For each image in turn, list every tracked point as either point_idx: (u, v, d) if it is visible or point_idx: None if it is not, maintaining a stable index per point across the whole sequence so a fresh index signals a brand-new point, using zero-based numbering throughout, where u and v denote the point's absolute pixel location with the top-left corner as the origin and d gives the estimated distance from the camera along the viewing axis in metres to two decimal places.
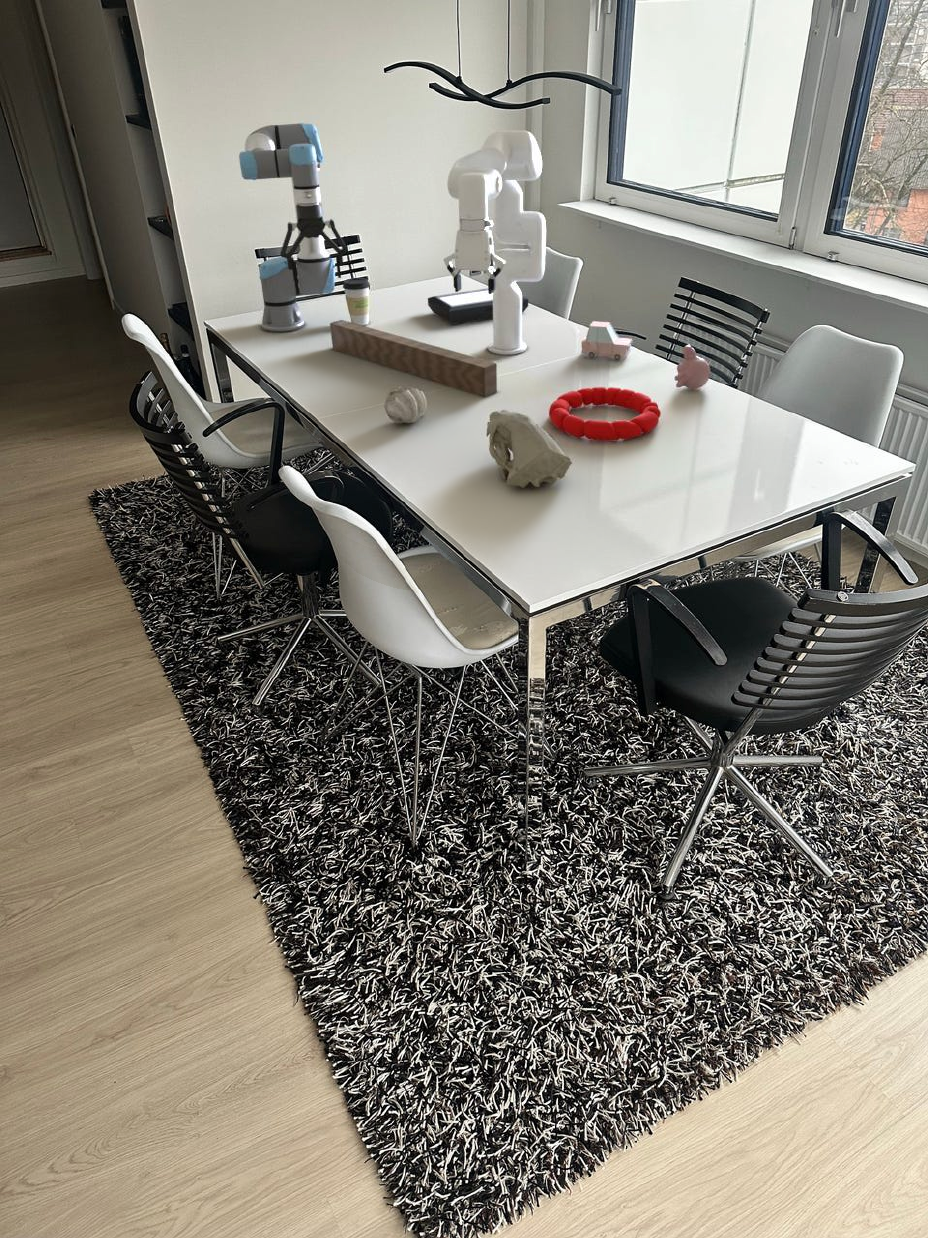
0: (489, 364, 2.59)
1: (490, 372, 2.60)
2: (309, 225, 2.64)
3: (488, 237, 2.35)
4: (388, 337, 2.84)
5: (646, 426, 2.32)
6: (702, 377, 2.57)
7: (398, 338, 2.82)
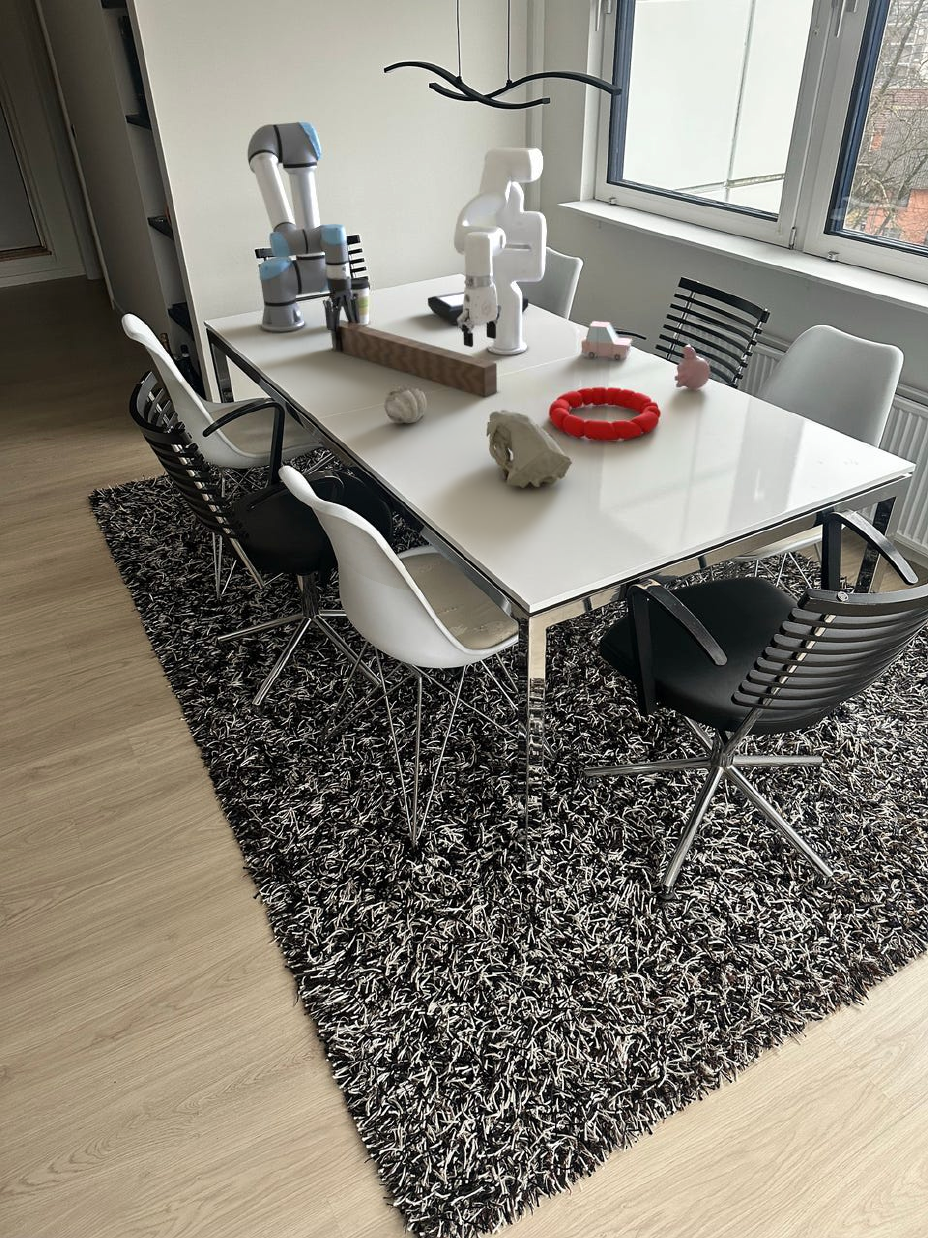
0: (489, 364, 2.59)
1: (490, 372, 2.60)
2: (340, 292, 2.91)
3: (465, 293, 2.48)
4: (388, 337, 2.84)
5: (646, 426, 2.32)
6: (702, 377, 2.57)
7: (398, 338, 2.82)
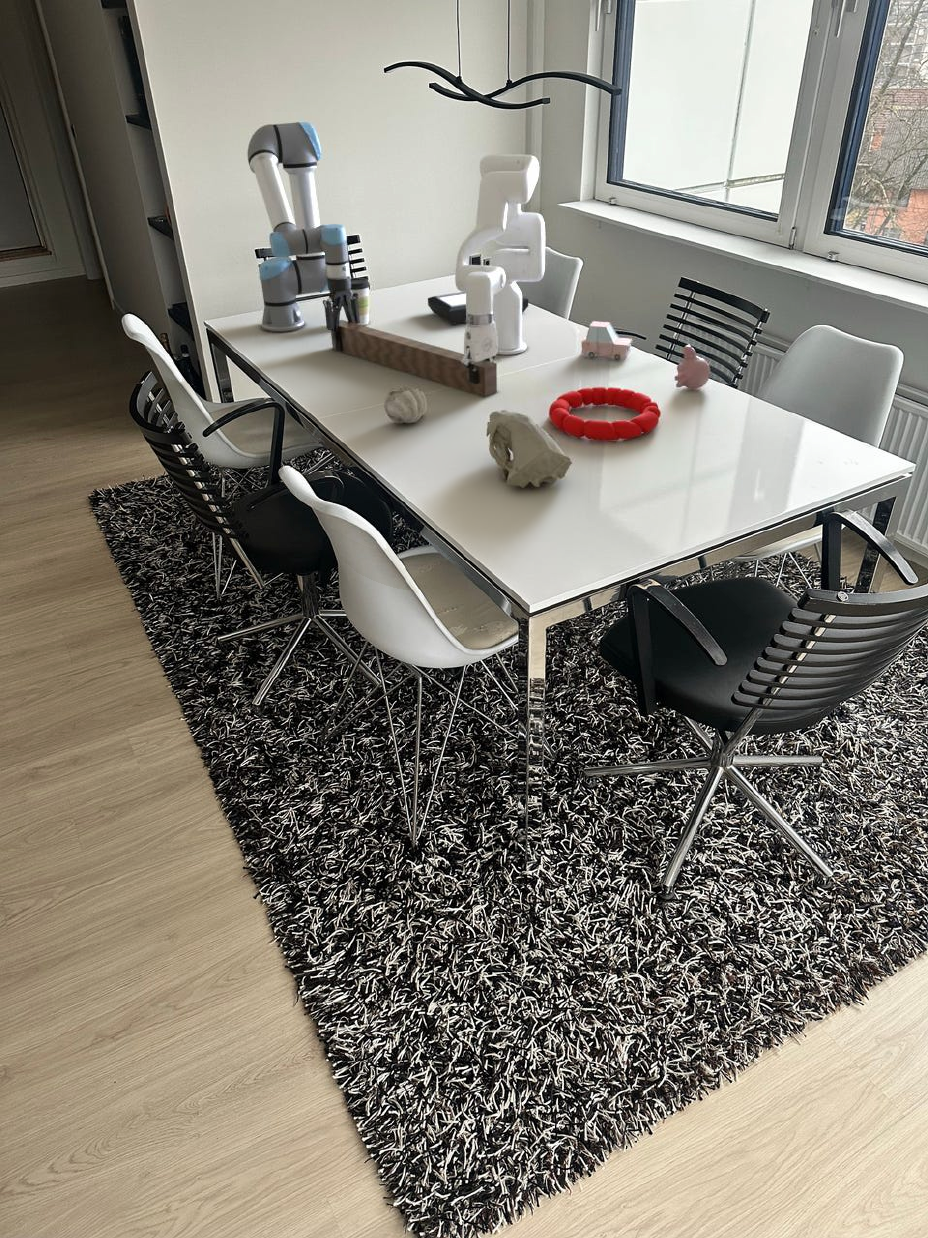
0: (489, 364, 2.59)
1: (490, 372, 2.60)
2: (340, 292, 2.91)
3: (466, 330, 2.53)
4: (388, 337, 2.84)
5: (646, 426, 2.32)
6: (702, 377, 2.57)
7: (398, 338, 2.82)
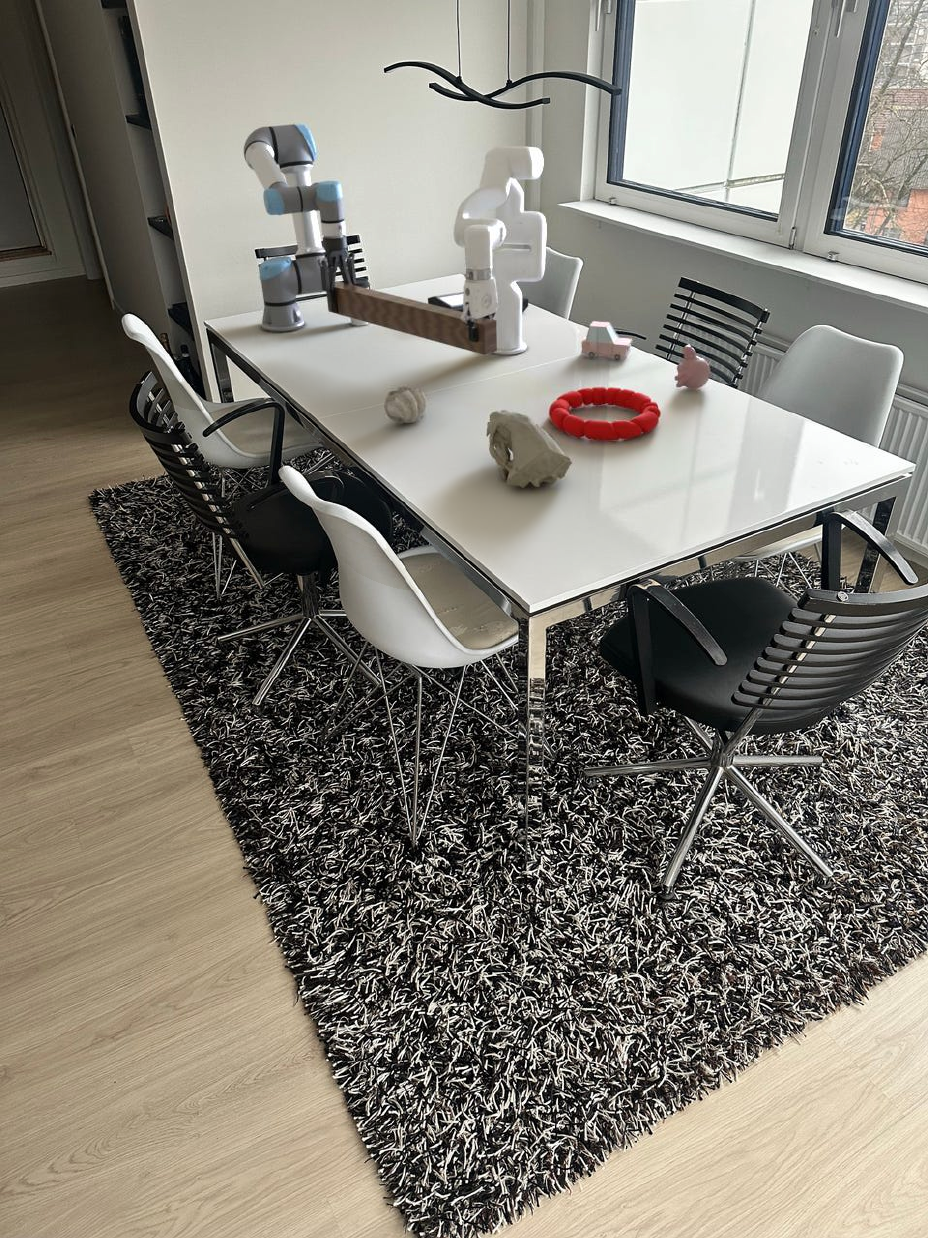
0: (489, 321, 2.53)
1: (490, 330, 2.53)
2: (336, 252, 2.84)
3: (465, 286, 2.47)
4: (385, 297, 2.77)
5: (646, 426, 2.32)
6: (702, 377, 2.57)
7: (395, 298, 2.75)
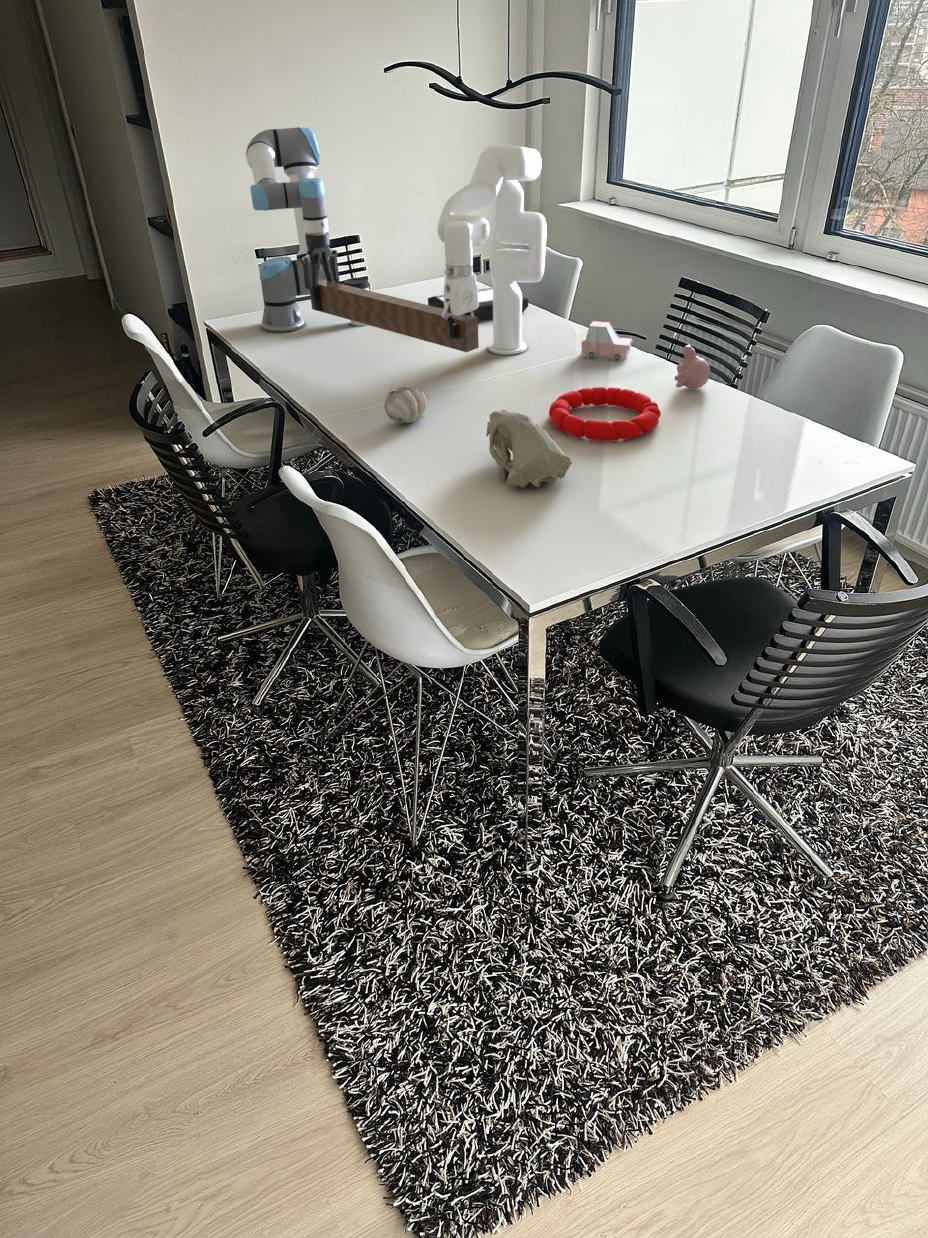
0: (470, 318, 2.51)
1: (471, 327, 2.52)
2: (319, 249, 2.83)
3: (445, 283, 2.46)
4: (367, 294, 2.76)
5: (646, 426, 2.32)
6: (702, 377, 2.57)
7: (377, 295, 2.74)
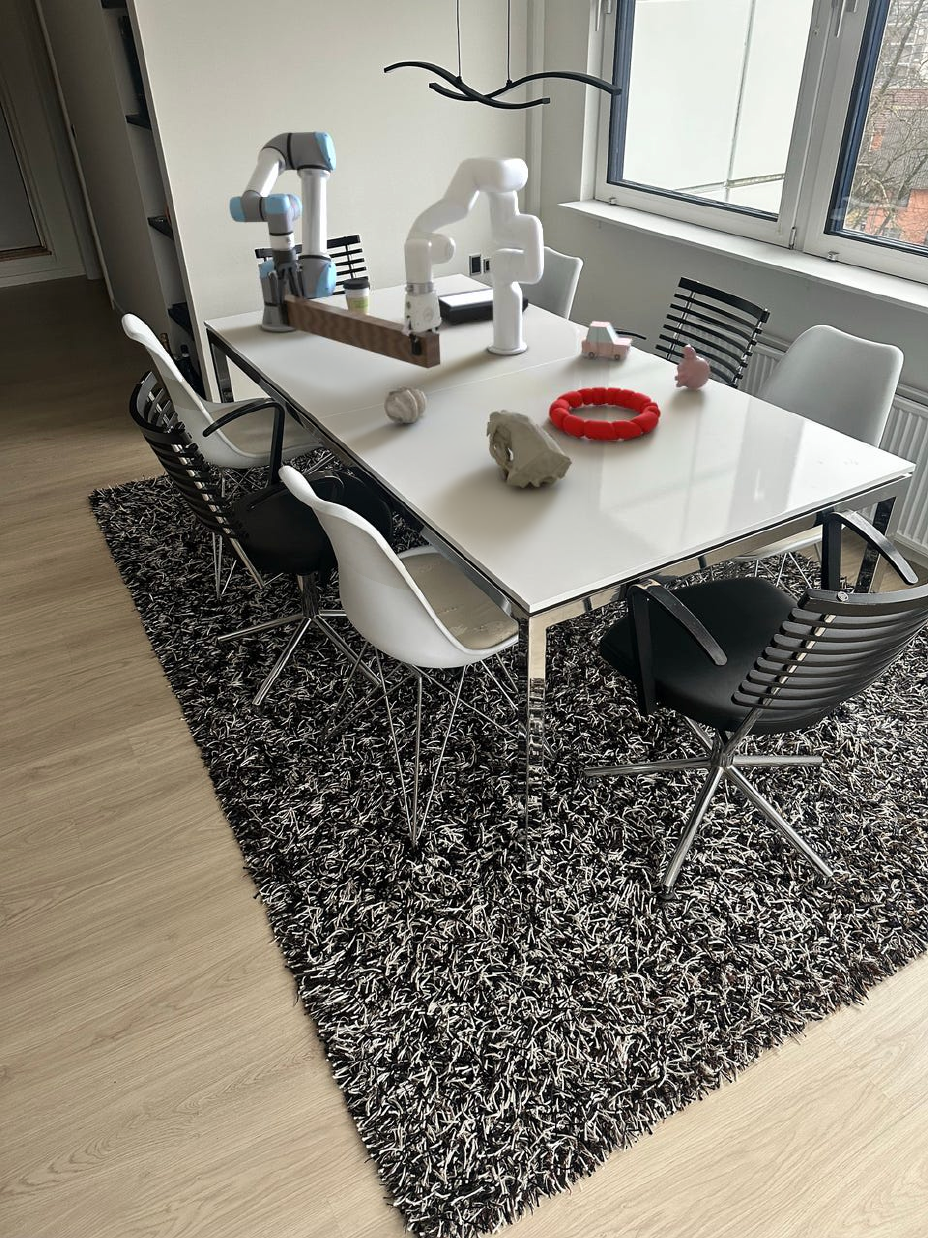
0: (431, 335, 2.52)
1: (433, 343, 2.53)
2: (285, 264, 2.84)
3: (406, 300, 2.47)
4: (333, 310, 2.77)
5: (646, 426, 2.32)
6: (702, 377, 2.57)
7: (342, 311, 2.75)
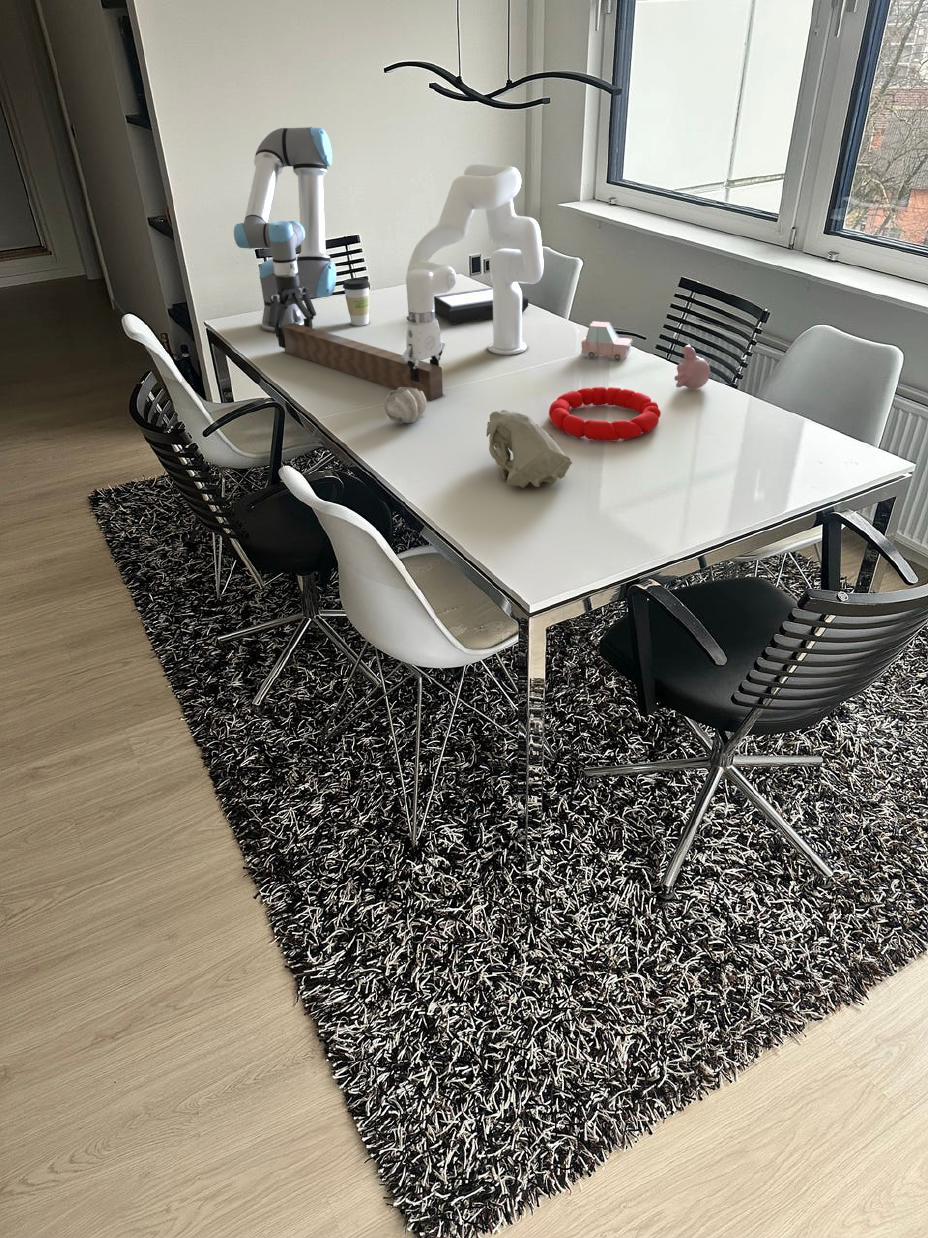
0: (434, 368, 2.58)
1: (435, 376, 2.59)
2: (289, 292, 2.89)
3: (408, 328, 2.51)
4: (337, 340, 2.82)
5: (646, 426, 2.32)
6: (702, 377, 2.57)
7: (347, 342, 2.81)
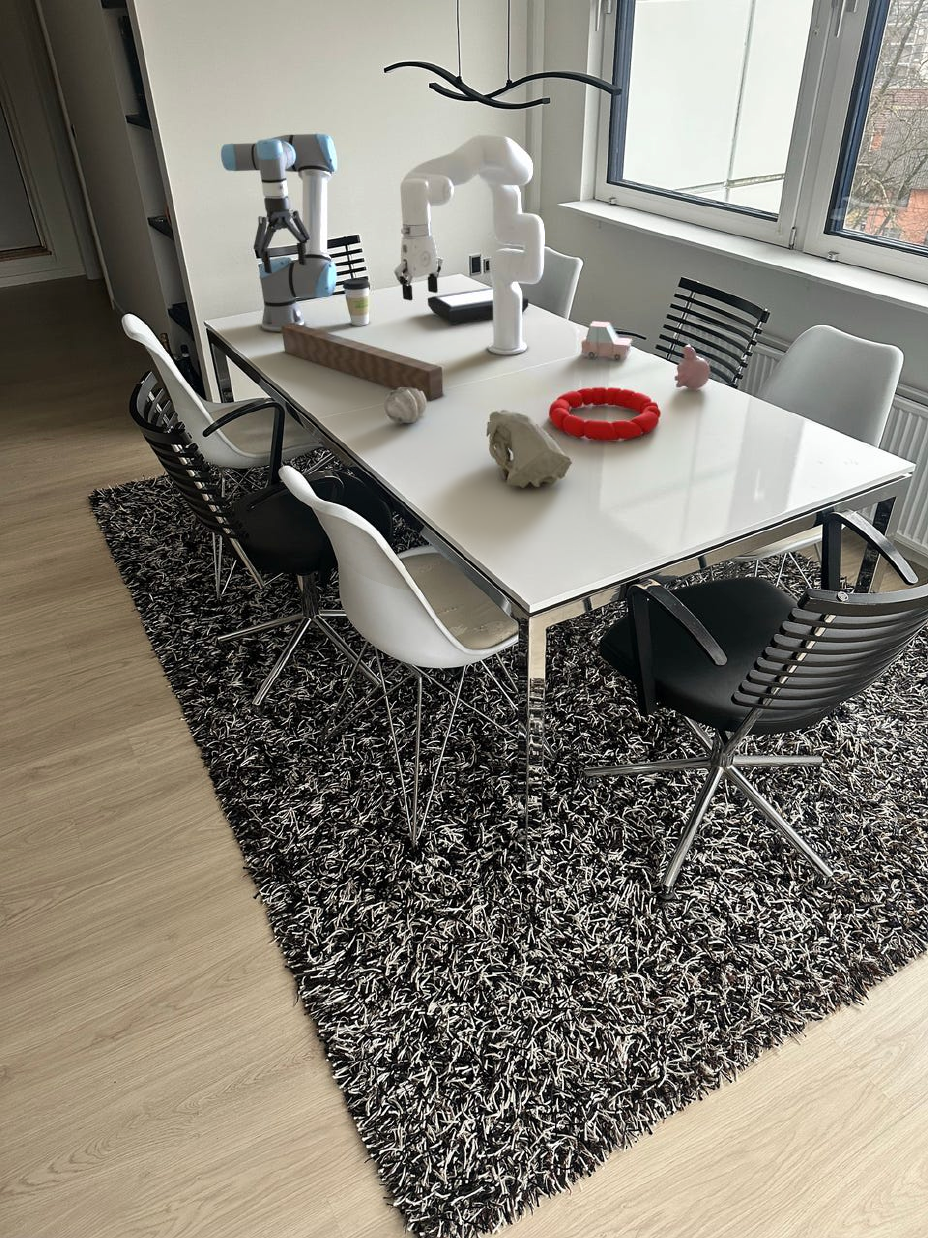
0: (434, 368, 2.58)
1: (435, 376, 2.59)
2: (279, 217, 2.76)
3: (402, 243, 2.38)
4: (337, 340, 2.82)
5: (646, 426, 2.32)
6: (702, 377, 2.57)
7: (347, 342, 2.81)
